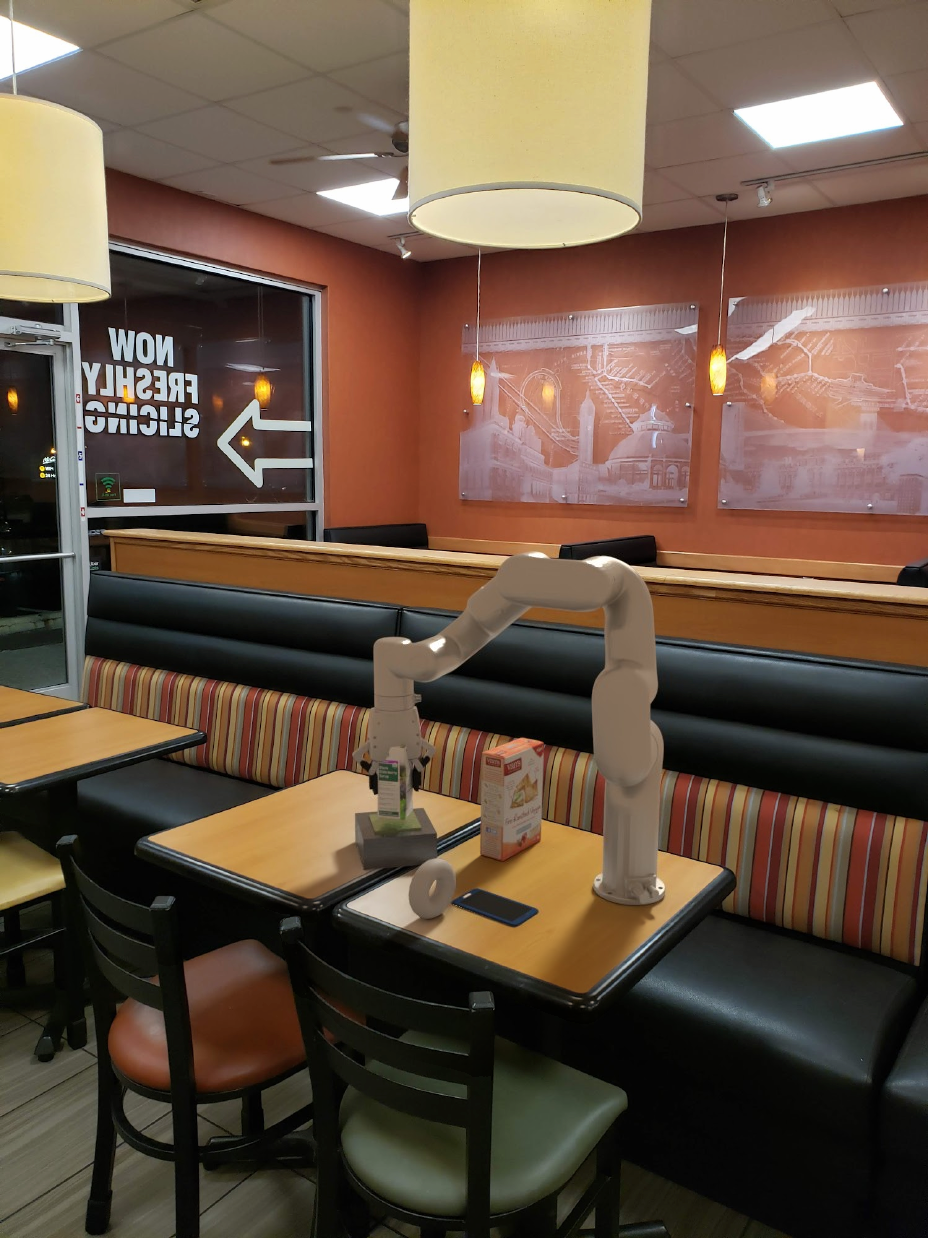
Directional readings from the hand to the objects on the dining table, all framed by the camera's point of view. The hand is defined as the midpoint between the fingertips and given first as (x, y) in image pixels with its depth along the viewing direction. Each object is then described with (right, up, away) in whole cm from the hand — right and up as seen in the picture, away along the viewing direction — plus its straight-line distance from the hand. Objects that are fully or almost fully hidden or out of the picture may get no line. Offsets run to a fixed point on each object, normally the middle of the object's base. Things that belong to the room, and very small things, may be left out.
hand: (395, 790), depth 176 cm
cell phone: (+19, -17, -21) cm, 33 cm away
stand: (0, -12, +2) cm, 13 cm away
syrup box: (0, -5, +1) cm, 5 cm away
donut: (+8, -17, -25) cm, 31 cm away
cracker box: (+23, -12, +4) cm, 26 cm away
